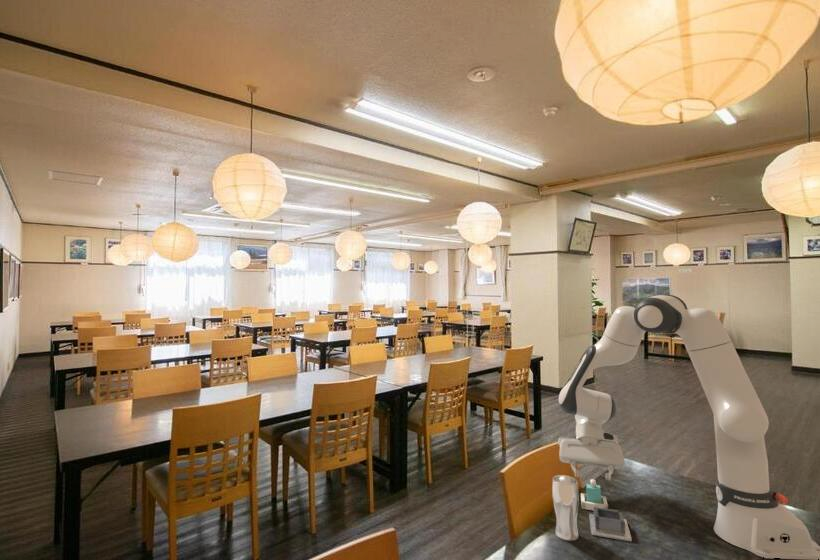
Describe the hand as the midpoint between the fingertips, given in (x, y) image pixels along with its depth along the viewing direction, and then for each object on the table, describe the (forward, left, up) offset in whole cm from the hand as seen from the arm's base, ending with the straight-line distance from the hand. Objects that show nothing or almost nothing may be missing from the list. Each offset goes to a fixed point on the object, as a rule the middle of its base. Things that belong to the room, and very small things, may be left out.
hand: (592, 478), depth 133 cm
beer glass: (+10, +22, -8) cm, 26 cm away
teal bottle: (0, +3, -7) cm, 8 cm away
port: (-2, +16, -7) cm, 18 cm away
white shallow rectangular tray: (0, +3, -7) cm, 8 cm away
